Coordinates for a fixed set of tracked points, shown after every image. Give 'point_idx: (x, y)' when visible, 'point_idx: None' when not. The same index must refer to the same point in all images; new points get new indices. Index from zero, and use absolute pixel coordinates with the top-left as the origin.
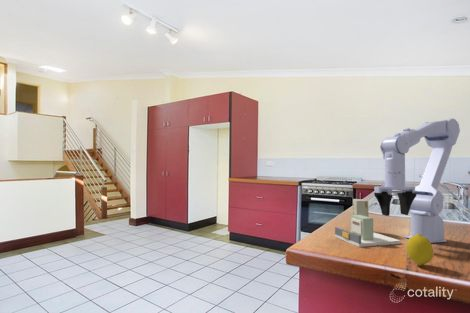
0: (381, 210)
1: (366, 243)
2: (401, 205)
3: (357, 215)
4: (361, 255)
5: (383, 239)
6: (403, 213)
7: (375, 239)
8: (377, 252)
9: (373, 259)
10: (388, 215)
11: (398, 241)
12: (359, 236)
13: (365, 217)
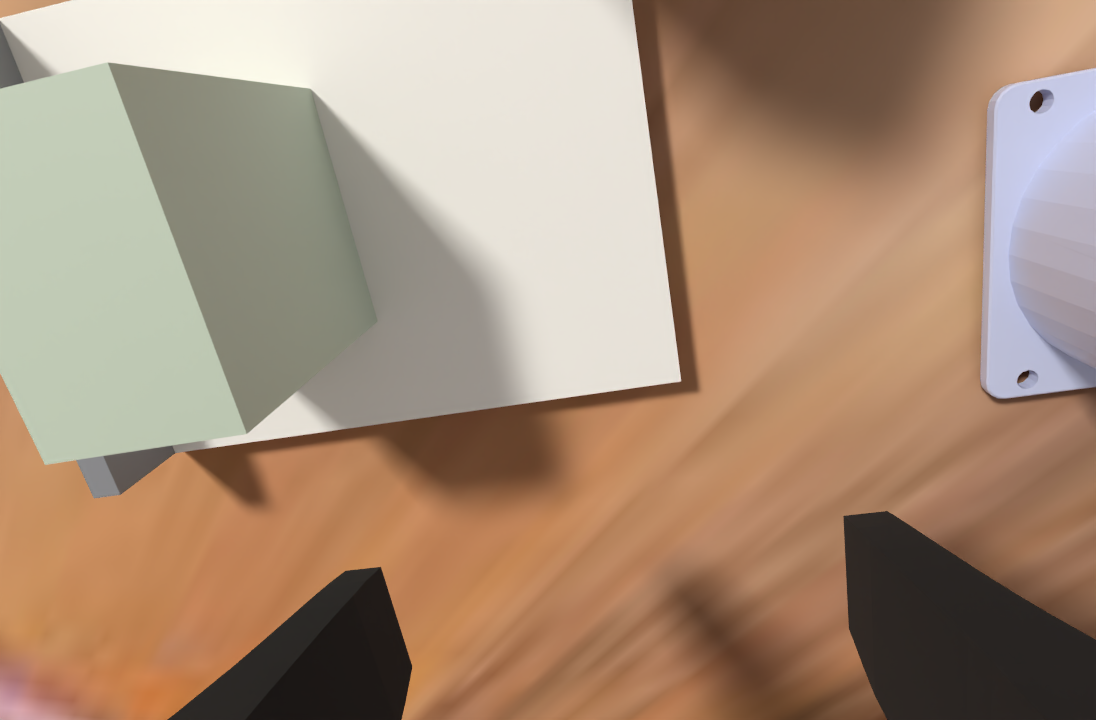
0: (290, 627)
1: (238, 441)
2: (954, 665)
3: (25, 132)
4: (119, 628)
5: (504, 324)
6: (853, 581)
7: (405, 318)
8: (276, 582)
9: (175, 700)
10: (398, 676)
11: (652, 381)
12: (106, 492)
13: (124, 362)
